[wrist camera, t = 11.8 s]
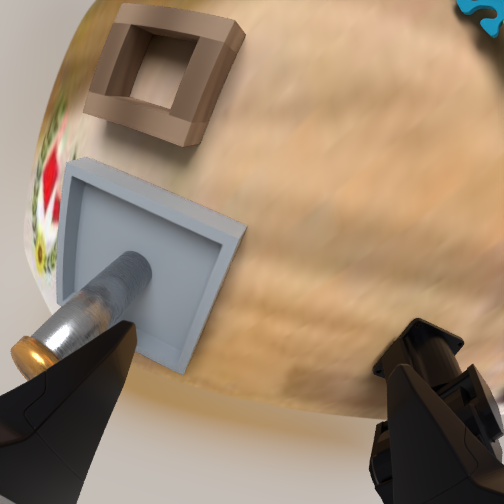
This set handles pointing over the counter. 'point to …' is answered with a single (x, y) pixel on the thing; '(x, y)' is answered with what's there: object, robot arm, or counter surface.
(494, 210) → the counter surface
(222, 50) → the collar block
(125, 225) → the tray
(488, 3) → the gear
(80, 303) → the steel pin
